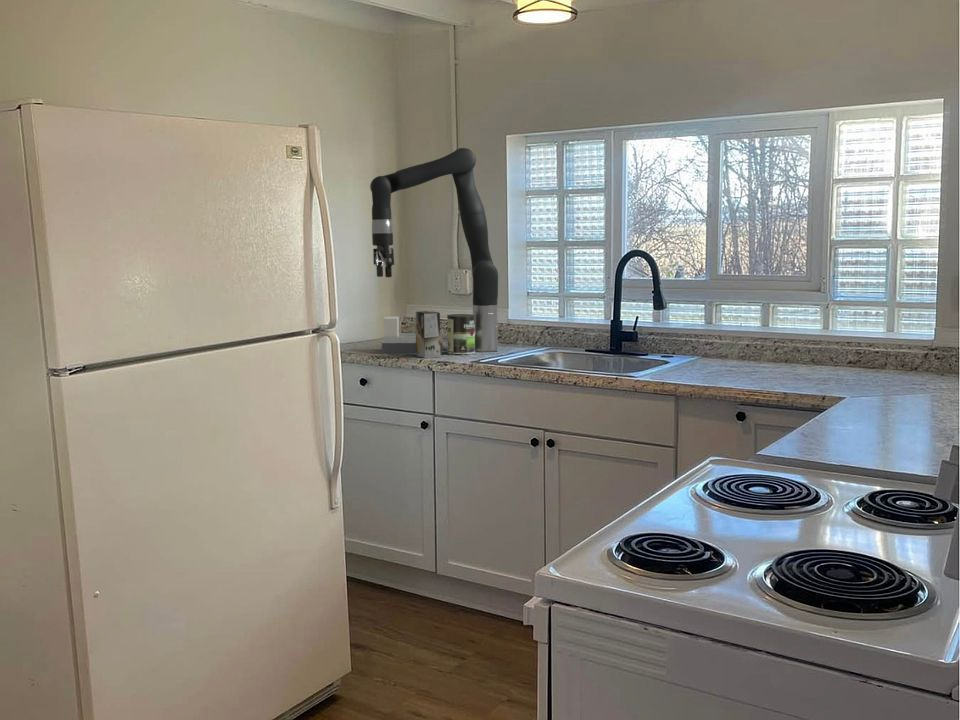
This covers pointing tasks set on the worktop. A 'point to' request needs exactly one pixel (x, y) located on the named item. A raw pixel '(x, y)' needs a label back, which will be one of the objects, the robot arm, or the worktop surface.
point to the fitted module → (391, 326)
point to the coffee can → (461, 334)
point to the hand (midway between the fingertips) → (384, 277)
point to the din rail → (404, 338)
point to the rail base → (402, 348)
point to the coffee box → (428, 334)
